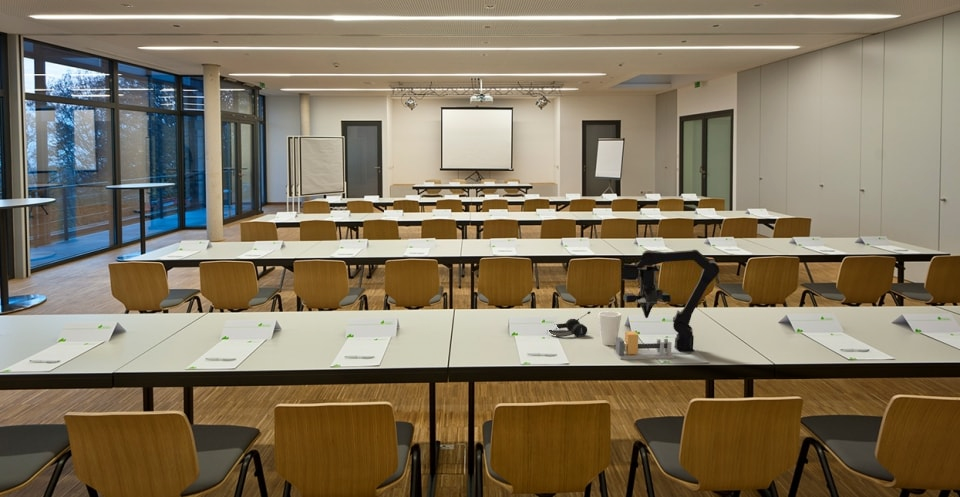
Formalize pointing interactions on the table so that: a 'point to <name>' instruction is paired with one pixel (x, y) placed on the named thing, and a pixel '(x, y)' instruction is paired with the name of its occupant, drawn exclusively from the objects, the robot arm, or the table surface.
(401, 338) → the table surface
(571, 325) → the headset
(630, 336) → the sleeve
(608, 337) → the foam cup
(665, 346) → the dark grey rod
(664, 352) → the comb base
